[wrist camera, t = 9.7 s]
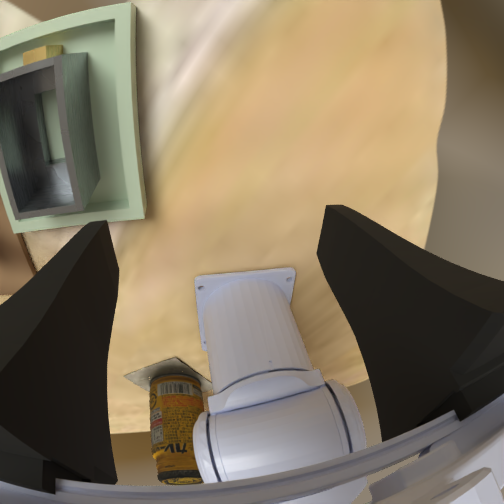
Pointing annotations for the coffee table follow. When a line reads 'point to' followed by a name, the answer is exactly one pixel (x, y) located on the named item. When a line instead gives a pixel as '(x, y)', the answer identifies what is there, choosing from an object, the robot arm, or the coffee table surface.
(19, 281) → the tan rectangular block
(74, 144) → the grey open box
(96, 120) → the tray
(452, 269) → the robot arm
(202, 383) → the condiment
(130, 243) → the coffee table surface
